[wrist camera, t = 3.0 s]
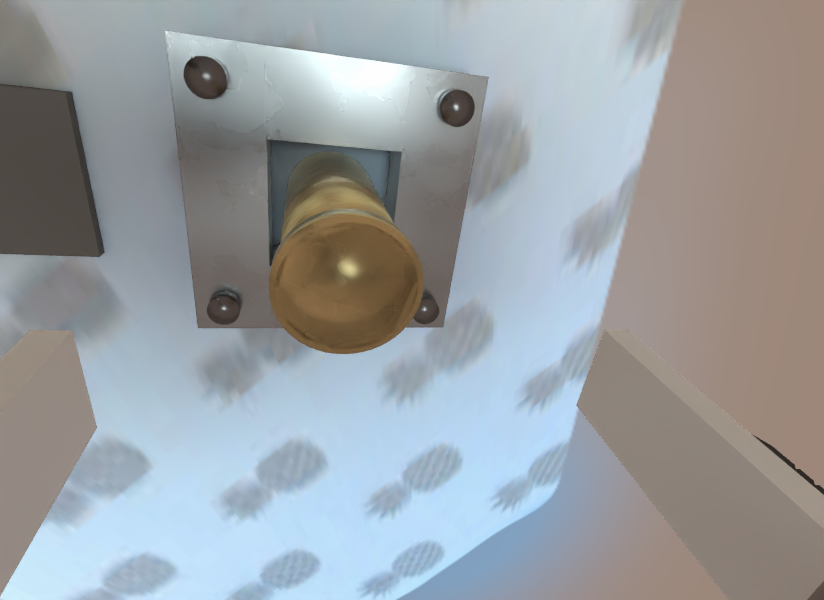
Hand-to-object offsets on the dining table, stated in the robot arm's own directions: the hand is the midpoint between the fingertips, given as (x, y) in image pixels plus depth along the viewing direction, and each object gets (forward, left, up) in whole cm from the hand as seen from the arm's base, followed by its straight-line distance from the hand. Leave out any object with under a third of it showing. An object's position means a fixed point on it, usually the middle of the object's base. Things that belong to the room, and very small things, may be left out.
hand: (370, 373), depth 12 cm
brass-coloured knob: (0, 0, -16) cm, 16 cm away
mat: (-16, 0, -16) cm, 23 cm away
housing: (0, 0, -16) cm, 16 cm away
